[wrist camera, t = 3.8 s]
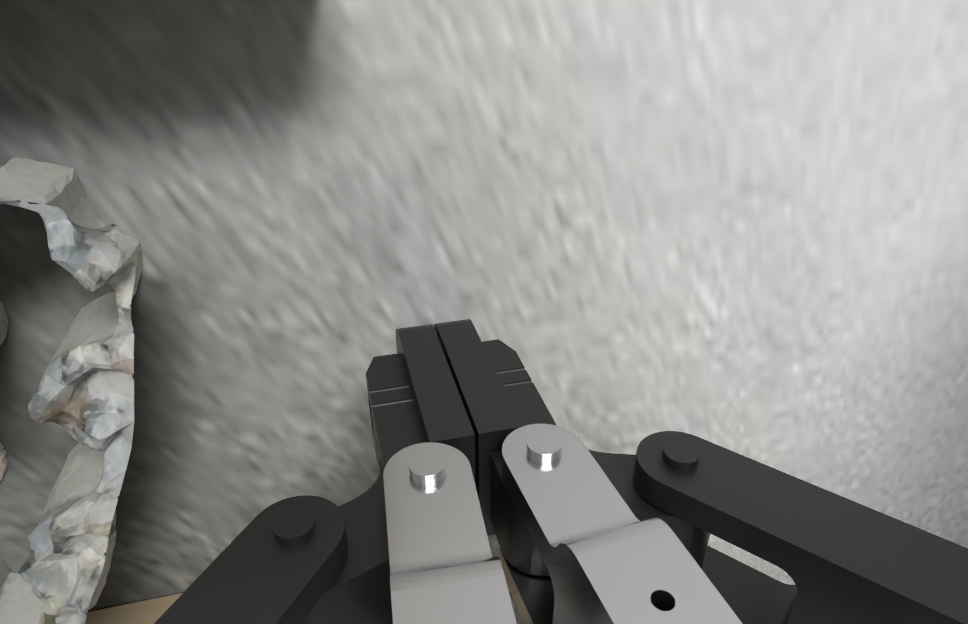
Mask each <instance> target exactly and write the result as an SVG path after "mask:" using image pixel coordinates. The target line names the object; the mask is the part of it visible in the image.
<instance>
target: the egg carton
mask: <svg viewBox="0 0 968 624" xmlns="http://www.w3.org/2000/svg"><path fill="white" fill-rule="evenodd" d="M0 204H7V205H12V206H18V207H22V208H25V209H29V210H32V211H35V212H38V214H39V215H40V216H41V217H42V219H43V222H44V225H45V229H46V232H47V239H48V247H49V251H50V255H51V259H52V260H53V261H55V262H56V263H57V264H59V265H60V266H62V267H63V268H64V269H66V270H67V271H69V272H70V273H71V274H72V275H73V277H74V278H75V279H76V280H77V281H78V282H79V283H80V284H81V285H82V286H83V287H84V288H85V289H86V290H87V291H95V290H97V289H98V288H99V287H101V286H102V285H108V286H111V287H112V288H113V290H114V291H115V292H110V293H108V294H106V295H103V296H101V297H98V298H96V299H95V300H93V301H92V302H90V303H89V304H87V305H86V306H84V307H83V308H81V310H80V311H79V313H78V315H77V316H76V318H75V320H74V321H73V323H72V325H71V327H70V328H69V330H68V332H67V334H66V335H65V337H64V339H63V341H62V342H61V343H60V345H59V346H58V348H57V350H56V352H55V354H54V356H53V357H52V359H51V361H50V363H49V364H48V366H47V368H46V370H45V372H44V373H43V375H42V378H41V381H40V384H39V387H38V389H37V390H36V392H35V394H34V396H33V397H32V399H31V401H30V402H29V404H28V411H29V415H30V419H31V420H33V421H35V422H37V423H39V424H40V423H43V422H46V421H48V422H55V423H57V424H60V425H62V426H63V427H64V428H65V429H66V430H67V432H68V433H69V434H70V435H71V436H72V437H73V438H74V439H75V440H76V441H77V442H79V443H78V444H77V445H76V446H75V447H74V448H73V449H72V450H71V451H70V453H69V454H68V456H67V459H66V461H65V464H64V466H63V469H62V471H61V473H60V475H59V477H58V479H57V481H56V483H55V485H54V486H53V489H52V491H51V494H50V496H49V498H48V501H47V503H46V506H45V508H44V510H43V513H42V516H41V519H40V522H39V525H38V526H37V527H36V528H35V530H34V531H33V532H32V533H31V534H30V536H29V537H28V540H29V544H30V547H31V553H30V555H29V556H28V558H27V559H26V561H25V562H24V564H23V566H22V567H21V569H20V570H19V572H18V573H19V574H17V573H10V572H9V570H8V568H7V567H6V565H5V563H4V561H3V559H2V558H1V557H0V624H85V621H86V617H87V612H88V610H89V609H91V608H92V607H94V606H95V605H96V603H97V601H98V599H99V596H100V594H101V592H102V590H103V588H104V586H105V585H106V577H107V574H108V572H109V569H110V566H111V559H112V553H113V550H114V546H115V540H116V532H117V530H116V528H115V526H116V505H117V501H118V498H119V494H120V491H121V487H122V483H123V480H124V476H125V472H126V469H127V465H128V461H129V456H130V452H131V448H132V439H133V429H134V330H133V326H132V321H131V301H132V297H133V296H134V295H135V294H136V291H137V287H138V282H139V279H140V276H141V272H142V254H141V248H140V244H139V241H137V240H135V239H133V238H131V237H128V236H126V235H124V234H122V233H119V231H120V230H119V228H118V227H117V225H113V224H112V225H109V226H108V225H107V224H105V223H104V222H103V221H102V220H100V219H99V218H98V216H97V215H96V214H95V212H94V211H93V209H92V208H91V207H90V205H89V204H88V202H87V200H86V198H85V195H84V192H83V189H82V187H81V184H80V181H79V178H78V176H77V174H76V172H75V170H74V169H73V168H69V167H65V166H61V165H57V164H53V163H47V162H39V161H35V160H31V159H25V158H20V157H17V158H13V159H10V160H9V161H8V162H7V163H6V164H5V165H4V166H2V167H1V168H0ZM8 322H9V321H8V318H7V315H6V312H5V309H4V306H3V303H2V302H1V301H0V346H1V344H2V343H3V341H4V340H5V339H6V335H7V331H8ZM3 447H4V446H3V444H2V443H1V442H0V481H1V480H2V479H3V478H4V475H5V472H6V470H7V467H8V460H7V458H6V455H5V454H6V451H5V450H4V449H3Z"/></svg>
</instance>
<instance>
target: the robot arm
mask: <svg viewBox="0 0 968 624" xmlns="http://www.w3.org/2000/svg"><path fill="white" fill-rule="evenodd" d="M396 344H397V354H392V355H385V356H378V357H374V358H373V360H372V362H371V364H370V366H369V368H368V370H367V372H366V378H367V388H368V397H369V407H370V416H371V425H372V434H373V440H374V446H375V451H376V457H377V463H378V467H379V474H380V475H379V477H378V479H377V480H376V482H375V483H374V484H373V486H372V487H371V488H370V489H368V490H367V491H366V492H365V493H364V494H362V495H361V496H359V497H357V498H356V499H354V500H352V501H350V502H347V503H345V504H343V505H341V506H339V507H337V506H336V505H335V504H334V503H332V502H331V501H329V500H326V499H324V498H321V497H317V496H296V497H291V498H287V499H284V500H281V501H279V502H276V503H275V504H273V505H271V506H269V507H268V508H266V509H265V510H263V511H262V512H261V513H260V514H259V515H258V516H256V517H255V519H254V520H253V521H252V522H251V523H250V524H249V525H248V526H247V527H246V528H245V529H244V530H243V531H242V532H241V533H240V534H239V535H238V536H237V537H236V538H235V539H234V540H233V541H232V543H231V544H230V545H229V546H228V547H227V548H226V549H225V550H224V551H223V552H222V553H221V554H220V555H219V556H218V557H217V558H216V559H215V560H214V561H213V562H212V563H211V564H210V566H209V567H208V568H207V569H206V570H205V571H204V572H203V573H202V574H201V575H200V576H199V577H198V578H197V579H196V580H195V581H194V582H193V583H192V584H191V585H190V586H189V587H188V588H187V590H186V591H185V592H184V593H183V594H182V595H181V596H180V597H179V598H178V599H177V600H176V601H175V602H174V603H173V604H172V605H171V606H170V607H169V608H168V609H167V610H166V611H165V612H164V614H163V615H162V616H161V617H160V618H159V619H158V620H157V621H156V622H155V623H154V624H517V623H516V619H515V615H514V611H513V607H512V603H511V599H510V595H509V592H510V594H511V596H512V599H513V601H514V603H515V606H516V608H517V610H518V612H519V615H520V617H521V619H522V622H523V624H968V549H967V548H965V547H962V546H960V545H958V544H955V543H953V542H950V541H948V540H946V539H943V538H941V537H938V536H936V535H933V534H931V533H929V532H926V531H924V530H921V529H919V528H916V527H914V526H912V525H909V524H907V523H904V522H902V521H900V520H897V519H895V518H892V517H890V516H887V515H885V514H883V513H880V512H878V511H875V510H873V509H871V508H868V507H866V506H863V505H861V504H858V503H856V502H854V501H851V500H849V499H846V498H844V497H842V496H839V495H837V494H834V493H832V492H829V491H827V490H825V489H822V488H820V487H817V486H815V485H813V484H810V483H808V482H805V481H803V480H800V479H798V478H796V477H793V476H791V475H788V474H786V473H783V472H781V471H779V470H776V469H774V468H771V467H769V466H767V465H764V464H762V463H759V462H757V461H754V460H752V459H750V458H747V457H745V456H742V455H740V454H738V453H735V452H733V451H730V450H728V449H725V448H723V447H721V446H718V445H716V444H713V443H711V442H709V441H706V440H704V439H701V438H699V437H696V436H694V435H691V434H687V433H683V432H676V431H665V432H658V433H654V434H652V435H649V436H648V437H646V438H644V439H643V440H642V441H641V442H640V444H639V446H638V448H637V453H636V455H628V454H612V453H601V452H596V451H591V450H588V449H587V448H586V446H585V445H584V443H583V442H582V441H581V440H580V438H579V437H578V436H576V435H575V434H574V433H572V432H571V431H569V430H567V429H565V428H563V427H560V426H557V425H556V423H555V422H554V420H553V418H552V416H551V414H550V413H549V411H548V409H547V407H546V405H545V404H544V402H543V400H542V398H541V396H540V395H539V393H538V391H537V389H536V387H535V385H534V384H533V383H532V382H531V378H530V376H529V375H528V373H527V371H526V370H525V369H524V366H523V364H522V362H521V360H520V358H519V357H518V355H517V353H516V351H514V350H513V349H511V348H510V347H508V346H507V345H506V344H504V343H503V342H501V341H500V340H492V341H484V342H481V340H480V338H479V336H478V334H477V332H476V329H475V327H474V325H473V323H472V321H471V320H470V319H468V320H460V321H453V322H445V323H437V324H434V326H433V325H432V324H431V325H423V326H416V327H408V328H400V329H396ZM710 533H711V534H713V535H715V536H717V537H719V538H721V539H723V540H725V541H727V542H729V543H731V544H733V545H735V546H737V547H739V548H742V549H744V550H746V551H748V552H750V553H752V554H754V555H756V556H758V557H760V558H762V559H764V560H766V561H768V562H770V563H772V564H774V565H776V566H778V567H780V568H781V569H783V570H784V571H785V572H787V573H788V574H789V575H790V576H791V578H792V579H793V581H794V582H795V584H796V585H789V584H785V583H782V582H780V581H777V580H775V579H773V578H771V577H769V576H767V575H765V574H763V573H761V572H759V571H757V570H755V569H753V568H751V567H749V566H747V565H745V564H743V563H741V562H739V561H737V560H735V559H733V558H731V557H729V556H727V555H725V554H723V553H721V552H719V551H717V550H715V549H713V548H711V547H709V546H707V544H708V540H709V536H710ZM493 534H496V536H497V539H498V542H499V545H500V560H499V558H498V557H492V553H491V549H490V545H489V541H488V537H487V536H488V535H493ZM508 590H509V591H508Z"/></svg>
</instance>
